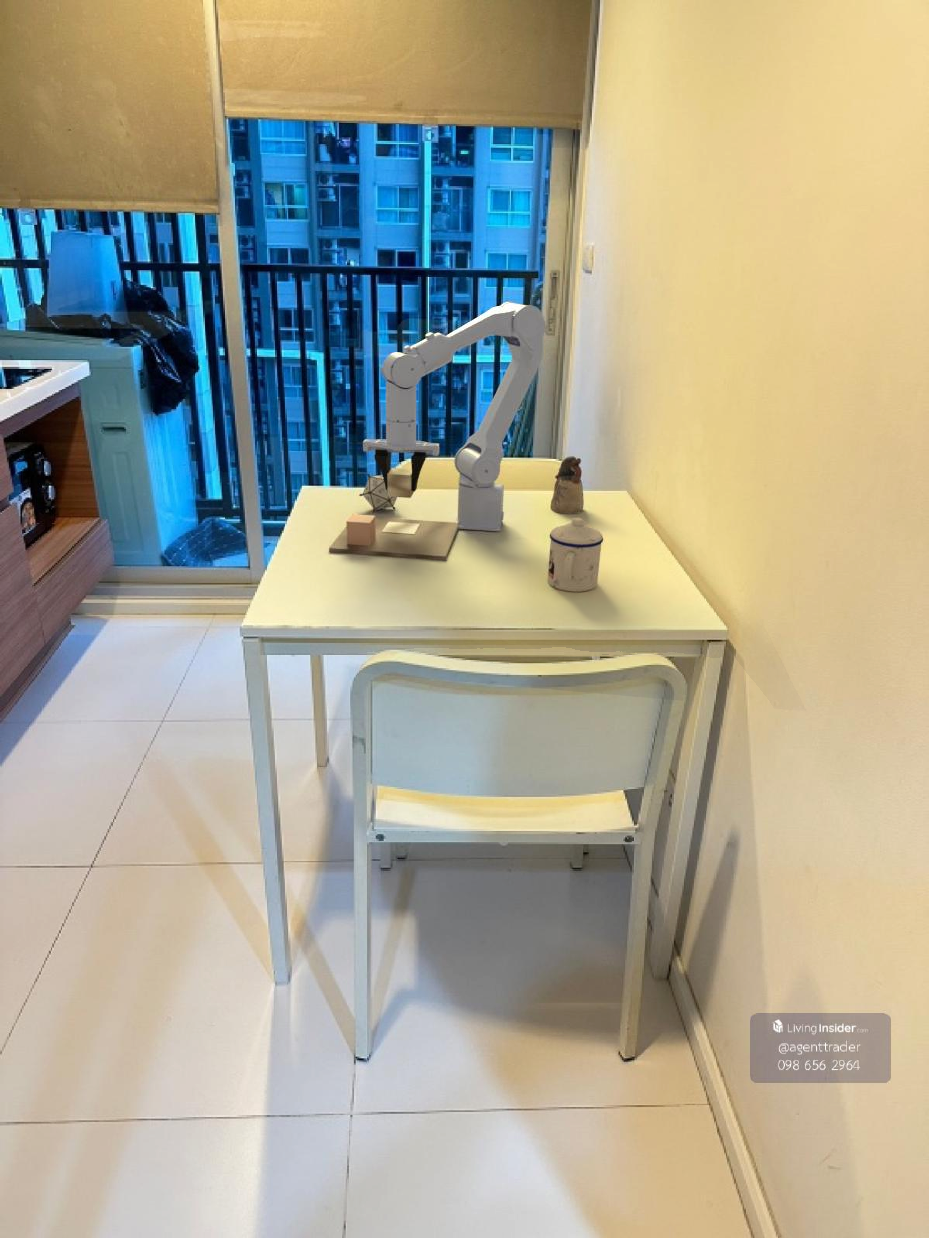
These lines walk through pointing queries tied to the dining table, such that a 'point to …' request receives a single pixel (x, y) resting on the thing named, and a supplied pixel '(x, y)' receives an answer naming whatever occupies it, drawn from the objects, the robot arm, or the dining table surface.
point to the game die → (378, 493)
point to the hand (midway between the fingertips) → (401, 489)
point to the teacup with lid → (574, 557)
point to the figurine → (568, 488)
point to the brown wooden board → (404, 539)
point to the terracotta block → (361, 529)
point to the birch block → (400, 483)
